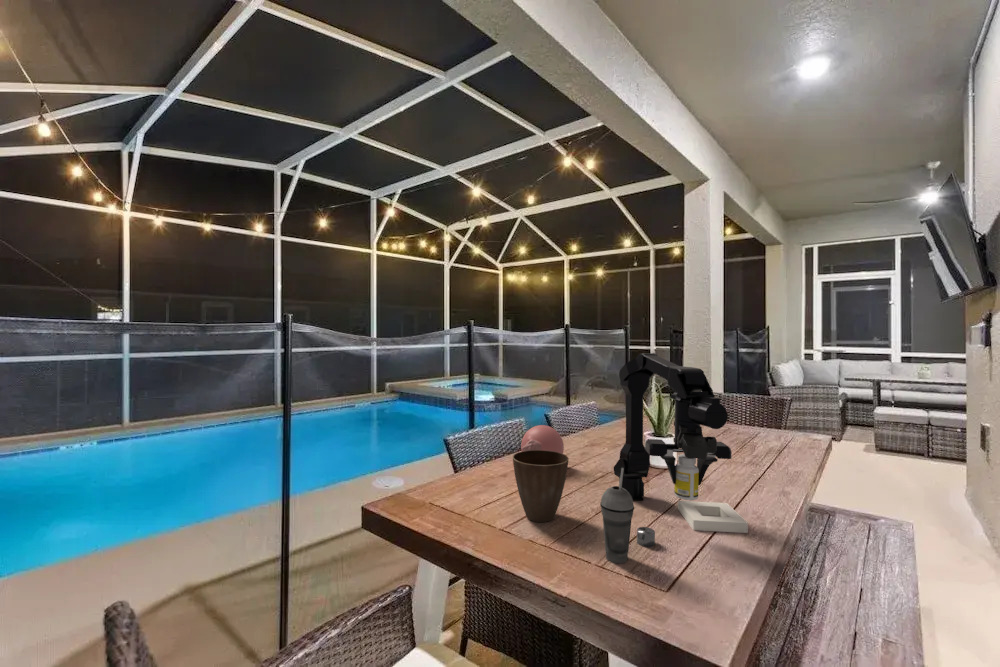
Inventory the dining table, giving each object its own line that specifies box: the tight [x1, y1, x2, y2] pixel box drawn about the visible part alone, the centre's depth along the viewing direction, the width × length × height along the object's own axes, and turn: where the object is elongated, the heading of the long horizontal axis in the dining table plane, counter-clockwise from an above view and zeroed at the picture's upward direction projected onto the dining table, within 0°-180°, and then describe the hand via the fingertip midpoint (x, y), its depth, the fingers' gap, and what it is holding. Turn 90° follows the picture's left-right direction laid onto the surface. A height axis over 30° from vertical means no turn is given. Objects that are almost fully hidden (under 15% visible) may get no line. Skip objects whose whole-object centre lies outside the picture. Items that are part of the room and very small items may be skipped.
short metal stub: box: [636, 526, 656, 548], centre depth 105 cm, size 4×4×3 cm
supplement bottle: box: [673, 453, 699, 501], centre depth 109 cm, size 5×5×10 cm
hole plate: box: [677, 500, 749, 534], centre depth 118 cm, size 13×13×2 cm
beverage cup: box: [600, 468, 635, 564], centre depth 98 cm, size 7×7×20 cm
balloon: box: [520, 424, 565, 454], centre depth 161 cm, size 15×20×15 cm
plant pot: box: [512, 450, 569, 523], centre depth 120 cm, size 15×15×16 cm
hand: (686, 484), depth 109 cm, fingers closed on supplement bottle, 5 cm apart
